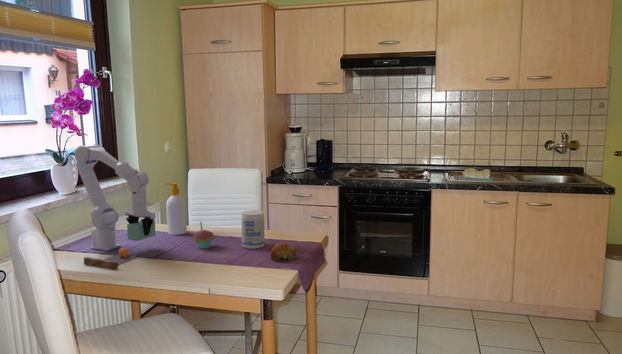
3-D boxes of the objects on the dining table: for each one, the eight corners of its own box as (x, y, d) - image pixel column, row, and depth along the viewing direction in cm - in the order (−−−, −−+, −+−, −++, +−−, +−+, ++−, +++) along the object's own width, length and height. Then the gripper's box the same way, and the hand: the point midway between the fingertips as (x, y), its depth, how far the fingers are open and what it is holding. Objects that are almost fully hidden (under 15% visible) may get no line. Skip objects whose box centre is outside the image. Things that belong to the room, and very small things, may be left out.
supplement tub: (245, 250, 194) (244, 215, 192) (239, 244, 203) (238, 211, 201) (267, 247, 198) (267, 213, 196) (261, 241, 206) (260, 209, 204)
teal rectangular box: (127, 239, 192) (127, 224, 191) (145, 234, 201) (144, 219, 200) (138, 240, 190) (137, 225, 189) (155, 235, 199) (154, 221, 198)
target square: (97, 262, 181) (97, 261, 181) (117, 254, 190) (117, 254, 190) (117, 265, 177) (117, 264, 177) (136, 257, 186) (136, 257, 186)
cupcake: (209, 250, 195) (207, 222, 193) (190, 249, 196) (188, 221, 195) (217, 244, 203) (216, 217, 201) (198, 243, 205) (197, 216, 203)
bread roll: (298, 266, 186) (300, 245, 188) (289, 262, 177) (292, 241, 179) (275, 263, 189) (278, 243, 191) (265, 260, 180) (268, 239, 182)
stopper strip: (84, 264, 179) (83, 257, 179) (86, 263, 180) (86, 256, 180) (115, 269, 173) (115, 262, 172) (118, 268, 174) (117, 261, 173)
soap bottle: (171, 230, 228) (168, 181, 224) (189, 230, 226) (187, 181, 223) (163, 235, 219) (160, 184, 216) (182, 235, 218) (179, 184, 214)
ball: (117, 246, 186) (124, 247, 189) (115, 256, 185) (122, 257, 188) (125, 247, 184) (132, 248, 188) (123, 257, 183) (130, 258, 187)
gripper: (160, 201, 194) (161, 233, 196) (133, 198, 199) (134, 230, 201) (147, 204, 187) (149, 237, 189) (120, 201, 193) (122, 234, 195)
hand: (141, 234), depth 195 cm, fingers closed on teal rectangular box, 6 cm apart
